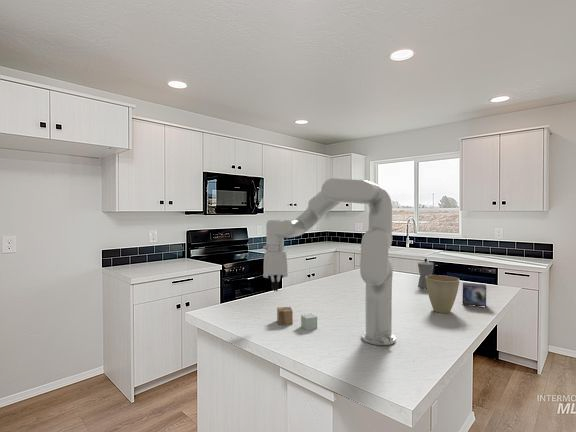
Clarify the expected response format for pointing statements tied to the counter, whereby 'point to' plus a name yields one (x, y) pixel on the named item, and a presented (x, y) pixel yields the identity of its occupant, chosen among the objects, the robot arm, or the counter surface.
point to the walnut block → (284, 315)
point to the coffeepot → (425, 272)
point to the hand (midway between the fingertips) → (275, 290)
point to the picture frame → (474, 294)
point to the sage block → (309, 321)
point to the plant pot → (442, 292)
